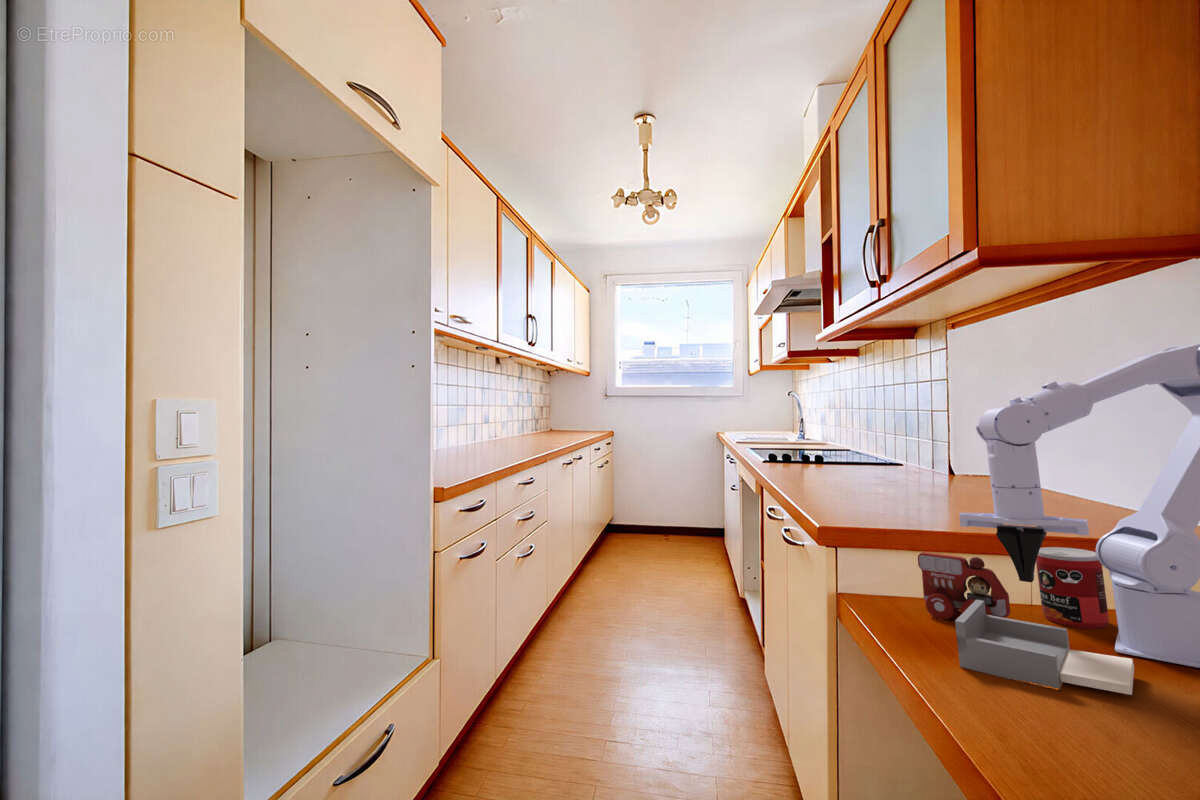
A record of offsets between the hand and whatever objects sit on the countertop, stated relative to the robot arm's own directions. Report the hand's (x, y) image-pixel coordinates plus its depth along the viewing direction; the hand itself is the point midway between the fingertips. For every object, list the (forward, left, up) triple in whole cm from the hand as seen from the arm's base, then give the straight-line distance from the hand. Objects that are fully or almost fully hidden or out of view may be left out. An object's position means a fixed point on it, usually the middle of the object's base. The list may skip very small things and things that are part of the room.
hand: (1026, 580), depth 73 cm
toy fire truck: (+10, -8, -10) cm, 16 cm away
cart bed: (+1, +8, -9) cm, 12 cm away
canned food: (-3, -16, -10) cm, 19 cm away
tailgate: (-4, +8, -7) cm, 12 cm away
